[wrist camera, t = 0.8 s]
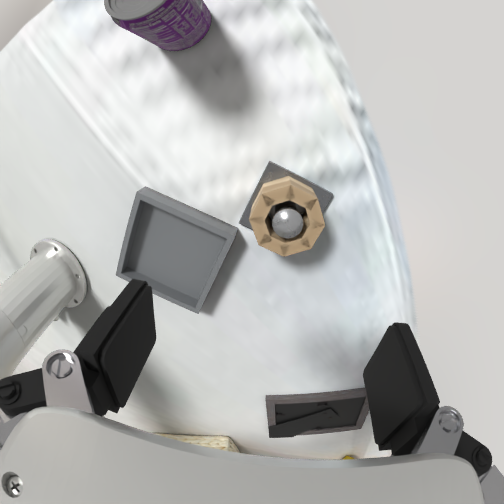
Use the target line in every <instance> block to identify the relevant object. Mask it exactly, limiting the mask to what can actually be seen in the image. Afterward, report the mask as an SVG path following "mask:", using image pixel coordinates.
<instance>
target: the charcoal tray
mask: <svg viewBox="0 0 504 504" xmlns="http://www.w3.org/2000/svg"><path fill="white" fill-rule="evenodd" d="M237 230H238V228H237V227H234V226H232V225H230V224H228V223H226V222H223V221H221V220H219V219H217V218H215V217H212V216H210V215H208V214H206V213H204V212H201V211H199V210H197V209H195V208H192V207H190V206H188V205H186V204H184V203H181V202H179V201H177V200H175V199H172V198H170V197H168V196H166V195H163V194H161V193H159V192H157V191H154V190H152V189H150V188H148V187H144V188H142V189H141V190H139V191H137V193H136V196H135V200H134V203H133V207H132V210H131V214H130V217H129V221H128V225H127V229H126V233H125V237H124V241H123V245H122V249H121V253H120V258H119V262H118V267H117V272H116V276H118V277H120V278H122V279H124V280H126V281H128V282H130V281H131V280H132V279H138V280H143V281H146V282H147V283H148V286H151V287H152V293H153V294H155V295H157V296H159V297H162V298H164V299H166V300H168V301H170V302H172V303H175V304H177V305H179V306H181V307H184V308H186V309H188V310H190V311H193V312H195V313H197V314H199V311H200V309H201V307H202V305H203V303H204V301H205V299H206V297H207V294H208V292H209V290H210V288H211V286H212V284H213V282H214V280H215V278H216V276H217V273H218V271H219V269H220V267H221V265H222V263H223V261H224V259H225V257H226V255H227V253H228V251H229V249H230V247H231V244H232V242H233V240H234V238H235V236H236V233H237Z"/></svg>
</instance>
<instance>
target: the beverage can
mask: <svg viewBox="0 0 504 504" xmlns="http://www.w3.org/2000/svg"><path fill="white" fill-rule="evenodd" d="M104 5H105V9H106V11H107V12H108V14H109V15H111V17H112V19H113V21H114V22H115V23H116V24H117V25H118V26H120V27H122V28H124V29H126V30H128V31H130V32H132V33H134V34H136V35H138V36H140V37H142V38H144V39H145V40H147V41H149V42H151V43H153V44H155V45H156V46H158V47H160V48H162V49H165V50H169V51H179V50H183V49H187V48H189V47H191V46H193V45H195V44H196V43H198V42H199V41H200V40H201V39H202V38H203V37H204V36H205V35H206V33H207V32H208V30H209V27H210V24H211V14H210V11H209V10H208V8H207V6H206V5H205V3H204V2H203V0H104Z"/></svg>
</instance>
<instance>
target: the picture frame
mask: <svg viewBox="0 0 504 504" xmlns="http://www.w3.org/2000/svg"><path fill="white" fill-rule="evenodd" d="M266 408H267V417H268V428H269V438H281V437H294V436H296V435H311V434H323V433H332V432H341V431H349V430H356V429H361V428H362V425H363V423H364V421H365V418H366V416H367V414H368V411H369V404H368V398H367V393H366V388H359V389H351V390H343V391H334V392H323V393H310V394H294V395H266Z"/></svg>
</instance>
